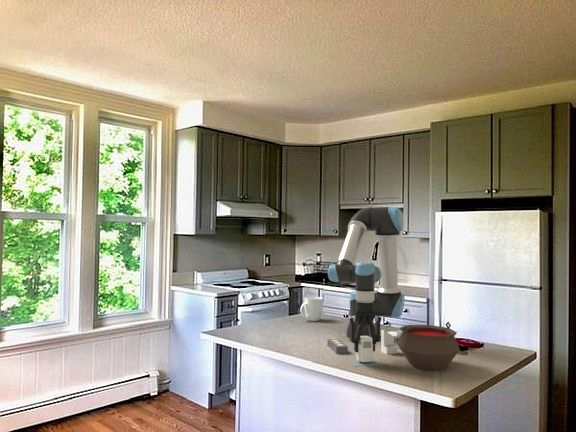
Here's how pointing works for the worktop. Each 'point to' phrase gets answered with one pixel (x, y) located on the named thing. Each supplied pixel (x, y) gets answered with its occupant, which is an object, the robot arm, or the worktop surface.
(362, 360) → the block
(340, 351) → the power strip
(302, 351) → the worktop surface
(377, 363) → the mat
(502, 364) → the worktop surface
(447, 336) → the brown pot
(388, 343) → the white angled block
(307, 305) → the mug
